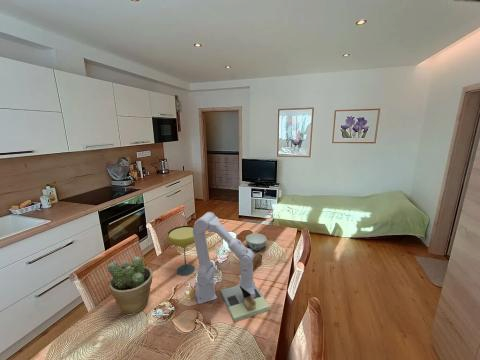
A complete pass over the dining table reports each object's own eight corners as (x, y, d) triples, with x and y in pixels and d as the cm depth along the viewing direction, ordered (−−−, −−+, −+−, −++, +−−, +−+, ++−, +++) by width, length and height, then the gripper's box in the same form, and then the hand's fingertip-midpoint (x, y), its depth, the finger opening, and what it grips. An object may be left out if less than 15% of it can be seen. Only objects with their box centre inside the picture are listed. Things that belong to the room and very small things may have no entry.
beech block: (247, 311, 100) (247, 304, 99) (244, 305, 104) (244, 297, 103) (255, 308, 102) (255, 301, 101) (251, 302, 105) (251, 295, 104)
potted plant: (143, 287, 119) (139, 245, 113) (162, 303, 107) (158, 257, 102) (106, 307, 105) (99, 260, 99) (124, 329, 93) (116, 277, 88)
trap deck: (234, 322, 97) (234, 318, 96) (221, 293, 114) (221, 290, 113) (269, 309, 103) (269, 306, 103) (252, 284, 121) (252, 281, 120)
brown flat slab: (248, 275, 128) (248, 262, 126) (244, 273, 130) (244, 260, 128) (262, 263, 140) (262, 251, 138) (258, 261, 142) (258, 250, 140)
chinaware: (267, 253, 151) (267, 243, 149) (245, 253, 151) (245, 243, 149) (265, 242, 165) (265, 233, 164) (245, 242, 166) (245, 233, 164)
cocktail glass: (164, 270, 133) (161, 232, 128) (190, 258, 146) (188, 223, 140) (180, 284, 121) (177, 242, 115) (206, 270, 133) (205, 232, 128)
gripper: (261, 282, 97) (261, 308, 100) (248, 264, 110) (248, 288, 113) (247, 286, 95) (246, 313, 98) (235, 267, 108) (235, 291, 111)
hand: (246, 300), depth 105 cm, fingers closed
